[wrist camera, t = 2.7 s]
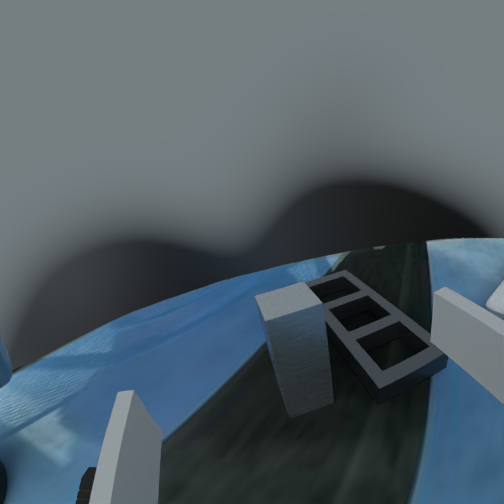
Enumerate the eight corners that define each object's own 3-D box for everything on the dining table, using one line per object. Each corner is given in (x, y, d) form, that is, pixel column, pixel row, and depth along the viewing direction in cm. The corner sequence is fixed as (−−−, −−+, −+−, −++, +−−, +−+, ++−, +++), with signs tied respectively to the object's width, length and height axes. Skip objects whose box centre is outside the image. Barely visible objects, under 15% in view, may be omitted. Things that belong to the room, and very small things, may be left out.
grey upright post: (290, 417, 25) (265, 321, 21) (279, 389, 29) (254, 296, 26) (333, 402, 25) (322, 302, 22) (318, 375, 30) (303, 281, 26)
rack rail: (378, 404, 23) (379, 388, 22) (299, 298, 48) (296, 285, 47) (446, 366, 24) (449, 349, 23) (347, 282, 48) (345, 269, 48)
